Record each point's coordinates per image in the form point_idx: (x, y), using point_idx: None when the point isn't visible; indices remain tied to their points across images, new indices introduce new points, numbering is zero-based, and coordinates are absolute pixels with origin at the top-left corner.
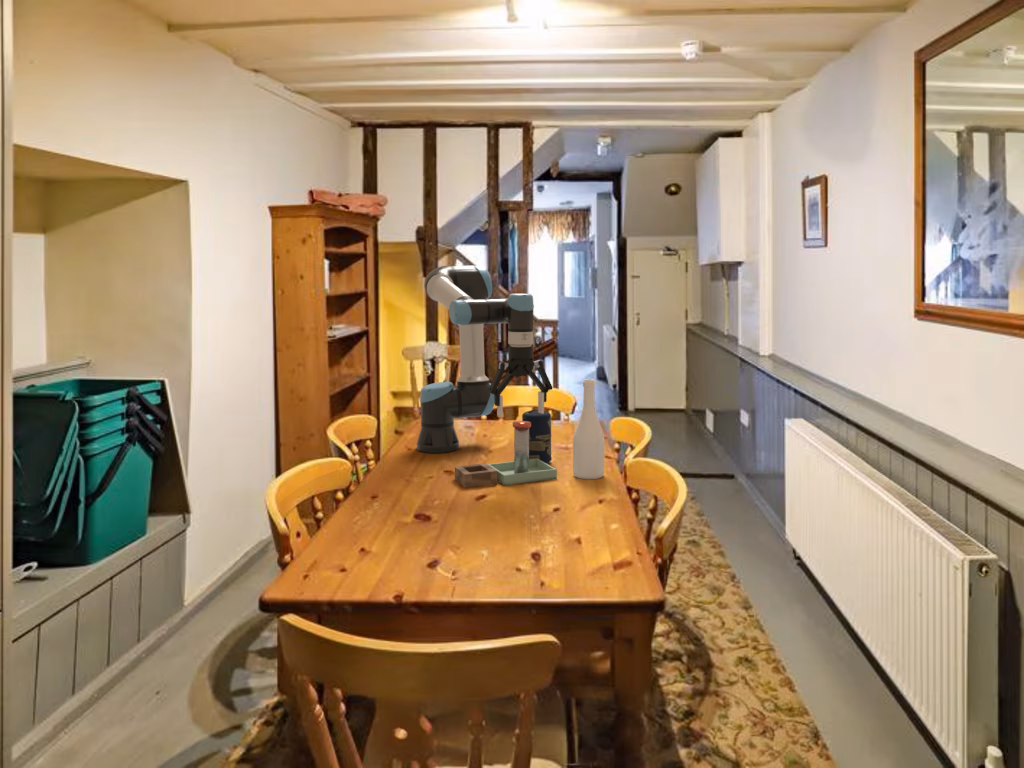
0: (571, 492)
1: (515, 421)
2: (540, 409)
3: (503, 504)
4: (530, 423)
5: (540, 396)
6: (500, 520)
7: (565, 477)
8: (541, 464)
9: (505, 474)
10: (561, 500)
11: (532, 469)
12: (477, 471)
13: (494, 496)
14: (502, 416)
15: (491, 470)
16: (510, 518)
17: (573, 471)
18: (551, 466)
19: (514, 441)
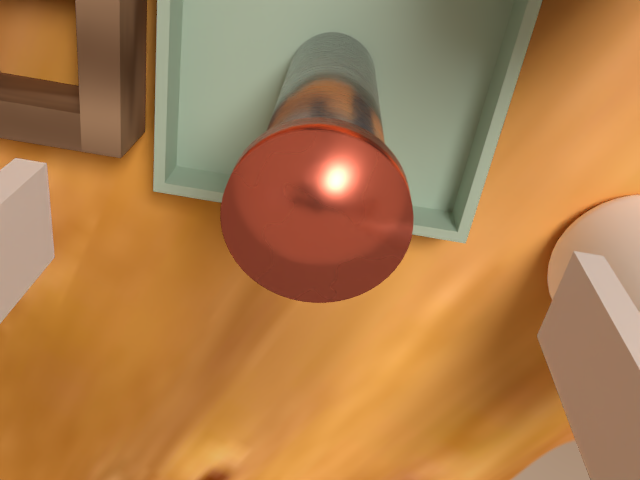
0: (373, 390)
1: (288, 141)
2: (560, 337)
3: (65, 367)
4: (372, 286)
5: (622, 476)
6: (5, 467)
7: (513, 220)
8: (506, 57)
9: (249, 24)
10: (280, 432)
11: (453, 19)
12: (9, 103)
13: (65, 277)
14: (48, 260)
15: (94, 131)
16: (40, 469)
17: (562, 245)
18: (483, 182)
19: (267, 128)
